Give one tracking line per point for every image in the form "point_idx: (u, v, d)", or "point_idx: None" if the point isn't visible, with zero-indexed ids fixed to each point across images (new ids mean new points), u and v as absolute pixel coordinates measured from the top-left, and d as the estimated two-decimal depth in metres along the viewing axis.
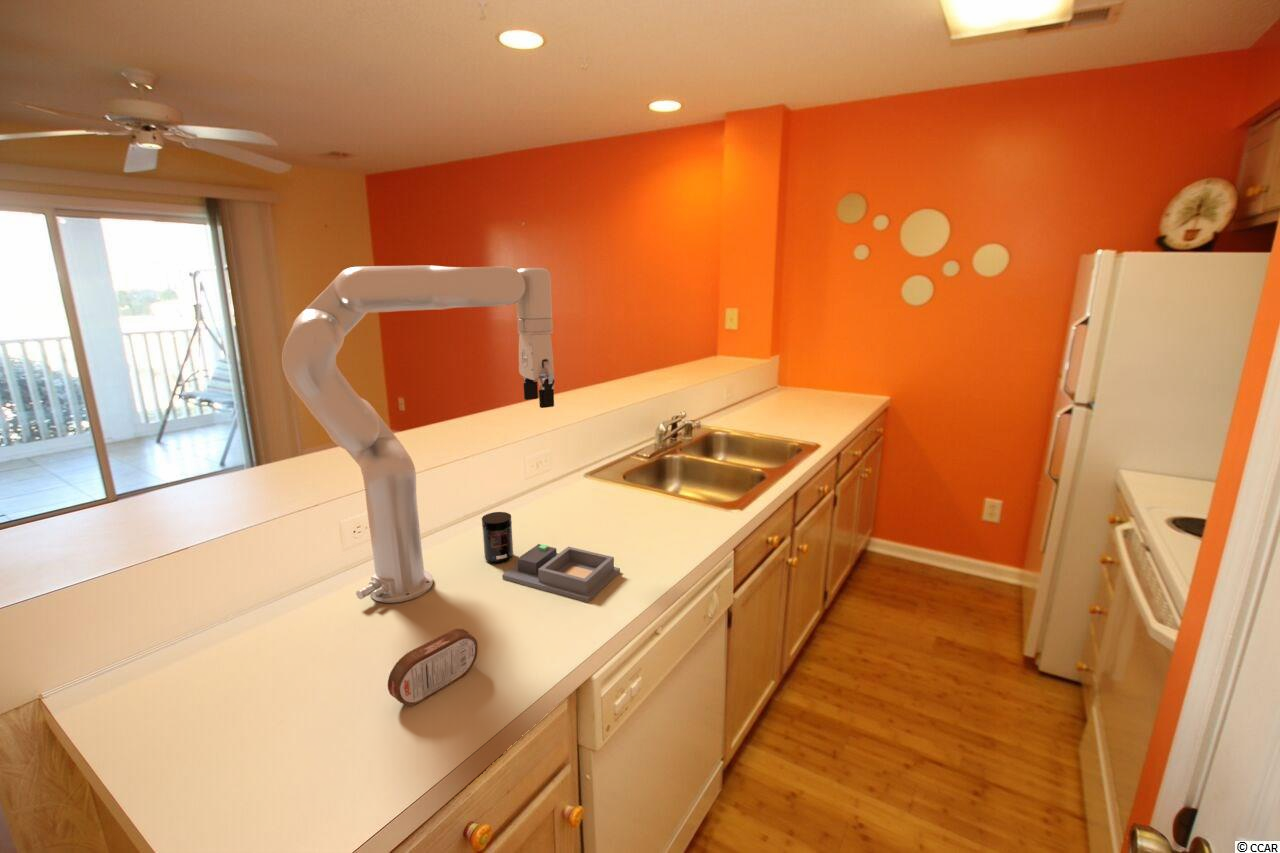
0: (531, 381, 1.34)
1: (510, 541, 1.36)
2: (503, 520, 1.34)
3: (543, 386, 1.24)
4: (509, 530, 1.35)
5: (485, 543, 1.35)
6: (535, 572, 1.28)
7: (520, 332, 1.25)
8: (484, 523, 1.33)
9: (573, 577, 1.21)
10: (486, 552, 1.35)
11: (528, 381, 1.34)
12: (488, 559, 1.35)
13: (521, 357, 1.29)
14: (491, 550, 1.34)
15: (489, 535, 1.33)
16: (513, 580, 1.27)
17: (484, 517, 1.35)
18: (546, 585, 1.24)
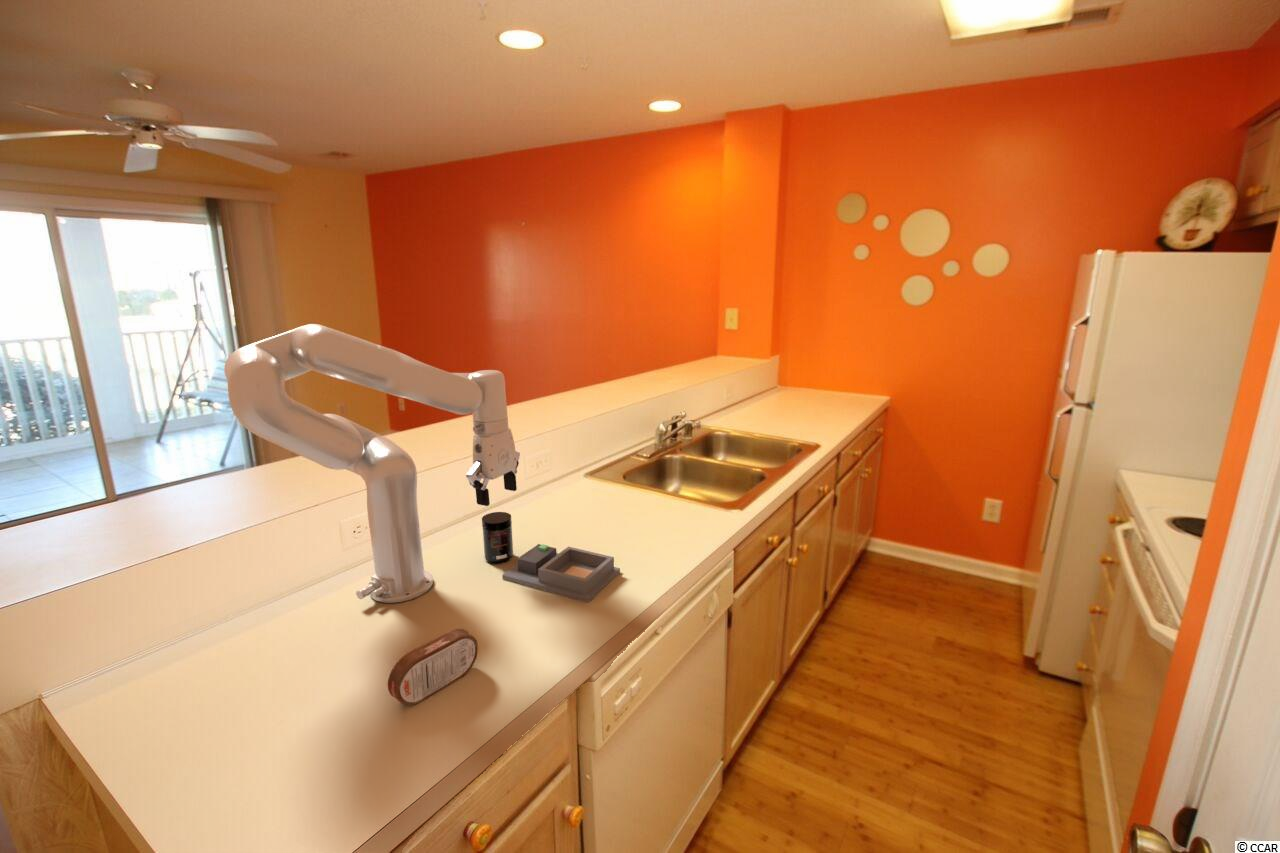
0: None
1: (510, 541, 1.36)
2: (503, 520, 1.34)
3: None
4: (509, 530, 1.35)
5: (485, 543, 1.35)
6: (535, 572, 1.28)
7: (506, 431, 1.29)
8: (484, 523, 1.33)
9: (573, 577, 1.21)
10: (486, 552, 1.35)
11: None
12: (488, 559, 1.35)
13: (497, 459, 1.29)
14: (491, 550, 1.34)
15: (489, 535, 1.33)
16: (513, 580, 1.27)
17: (484, 517, 1.35)
18: (546, 585, 1.24)
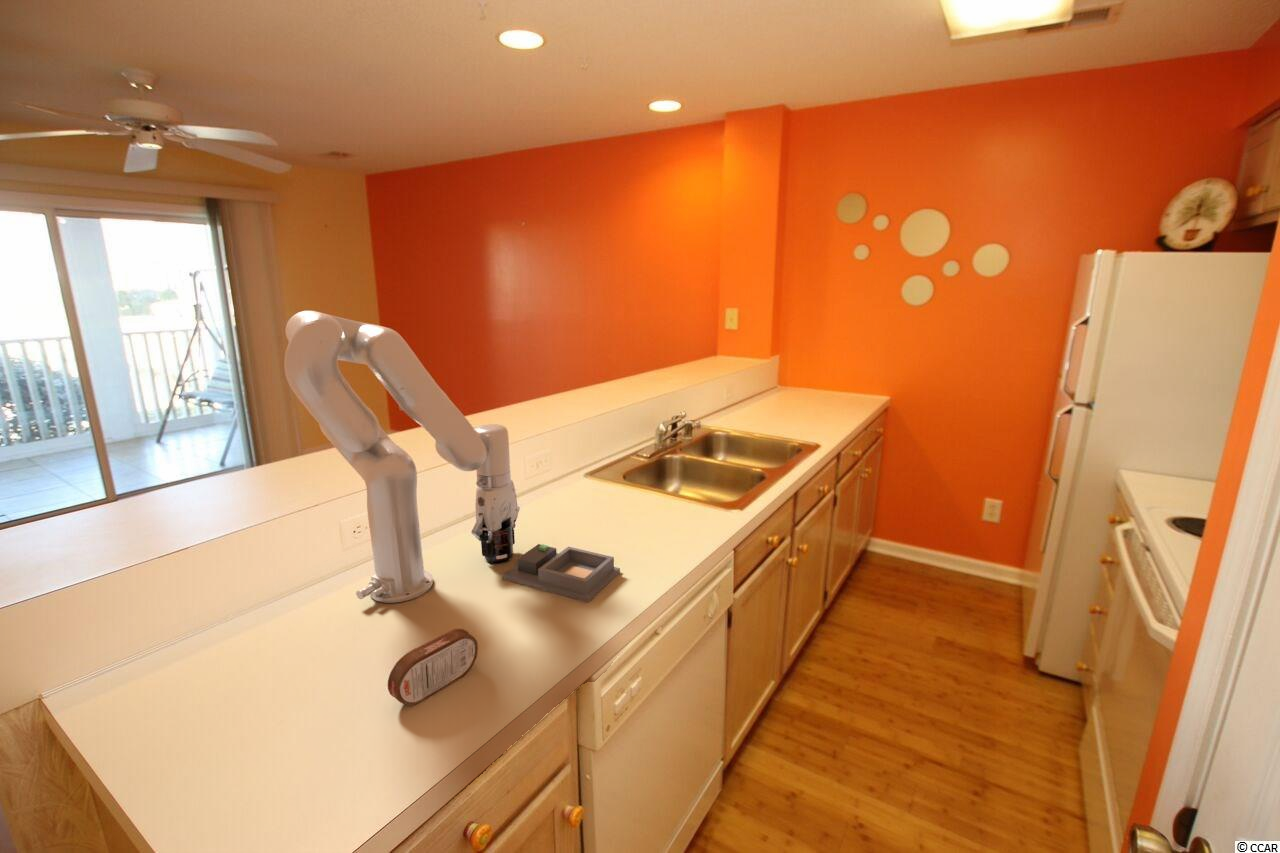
0: None
1: (510, 541, 1.36)
2: None
3: None
4: (509, 530, 1.35)
5: None
6: (535, 572, 1.28)
7: (508, 484, 1.32)
8: None
9: (573, 577, 1.21)
10: None
11: None
12: (488, 559, 1.35)
13: (499, 511, 1.32)
14: None
15: None
16: (513, 580, 1.27)
17: None
18: (546, 585, 1.24)
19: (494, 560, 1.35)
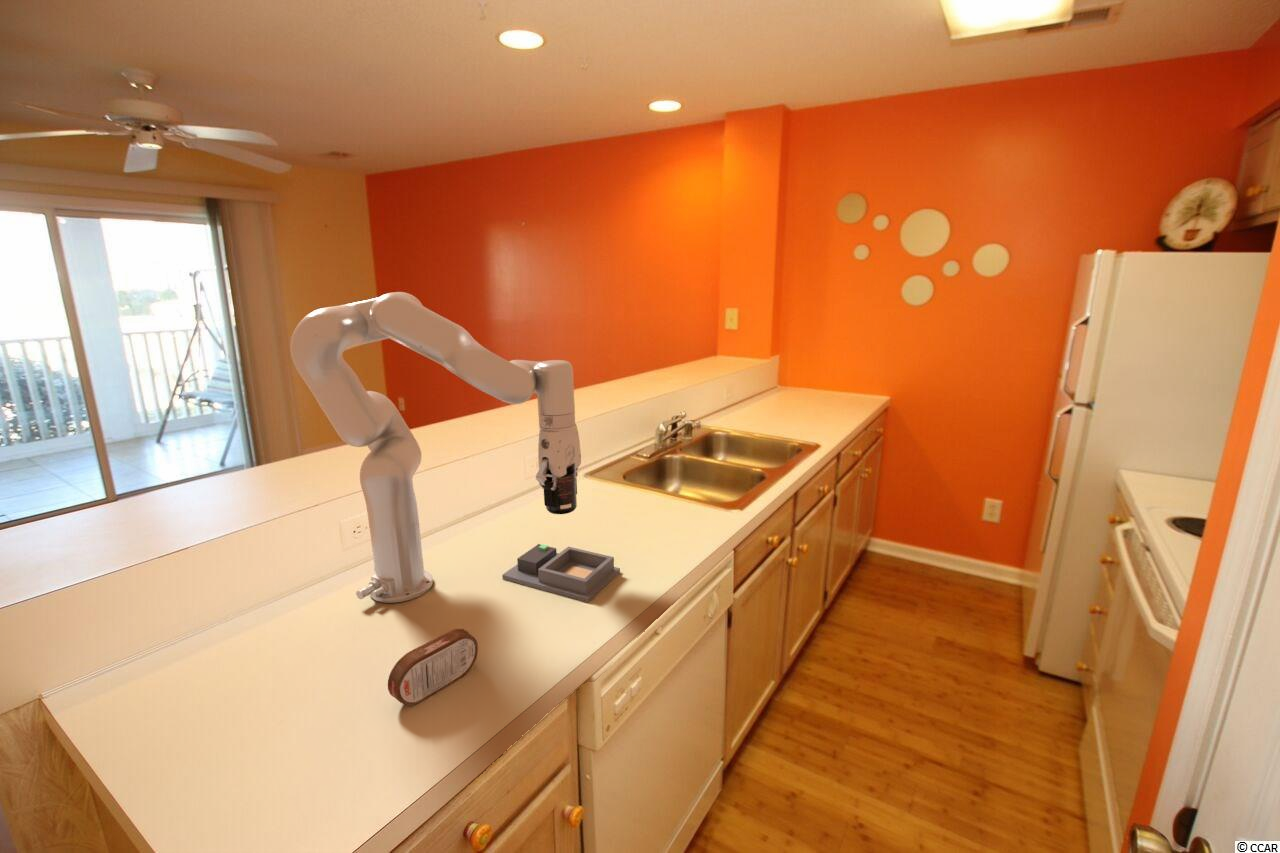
0: None
1: (574, 489, 1.24)
2: None
3: None
4: (573, 477, 1.23)
5: None
6: (535, 572, 1.28)
7: (574, 426, 1.20)
8: None
9: (573, 577, 1.21)
10: None
11: None
12: (551, 509, 1.23)
13: (564, 455, 1.20)
14: None
15: None
16: (513, 580, 1.27)
17: None
18: (546, 585, 1.24)
19: (558, 510, 1.23)
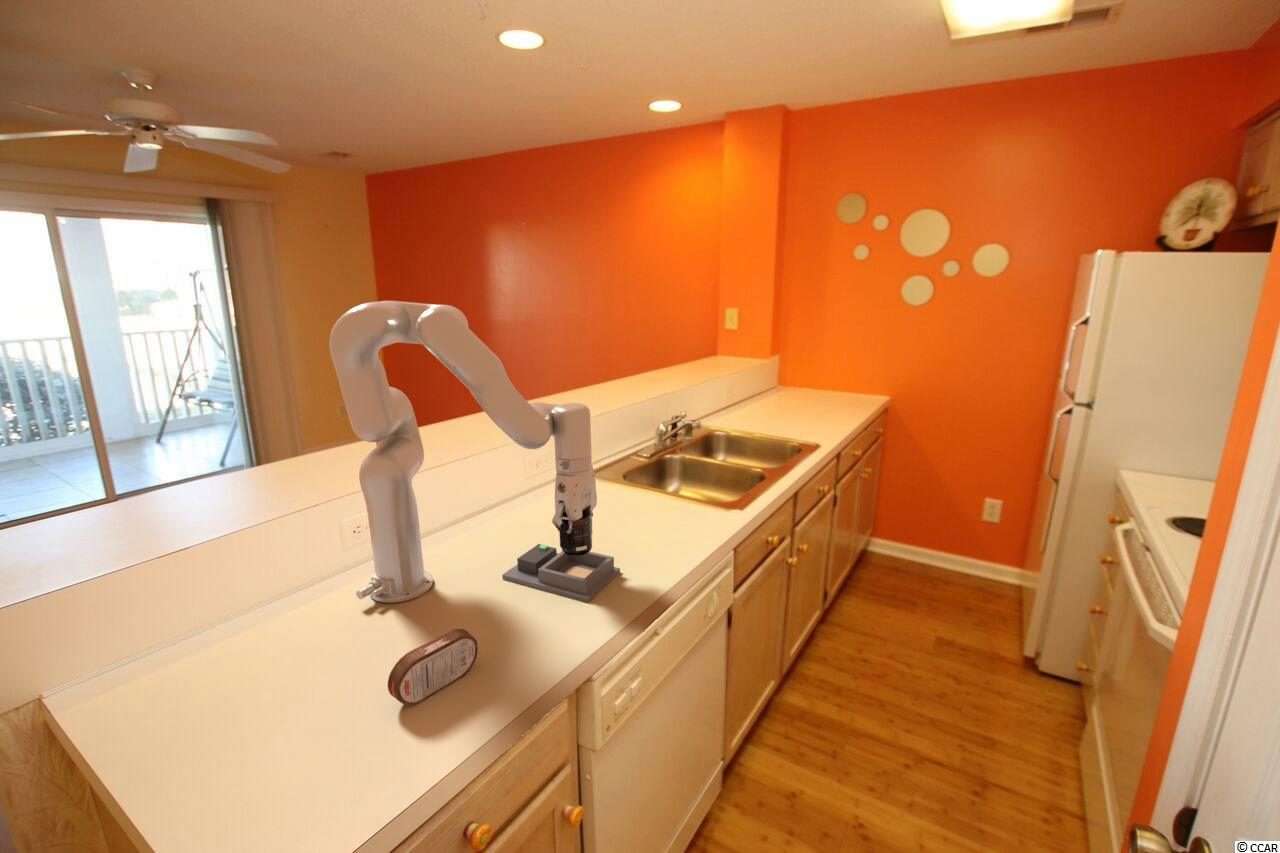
0: None
1: (590, 531, 1.24)
2: None
3: None
4: (589, 519, 1.24)
5: None
6: (535, 572, 1.28)
7: (590, 469, 1.21)
8: None
9: (573, 577, 1.21)
10: None
11: None
12: (567, 551, 1.24)
13: (580, 499, 1.20)
14: None
15: None
16: (513, 580, 1.27)
17: None
18: (546, 585, 1.24)
19: (573, 552, 1.23)
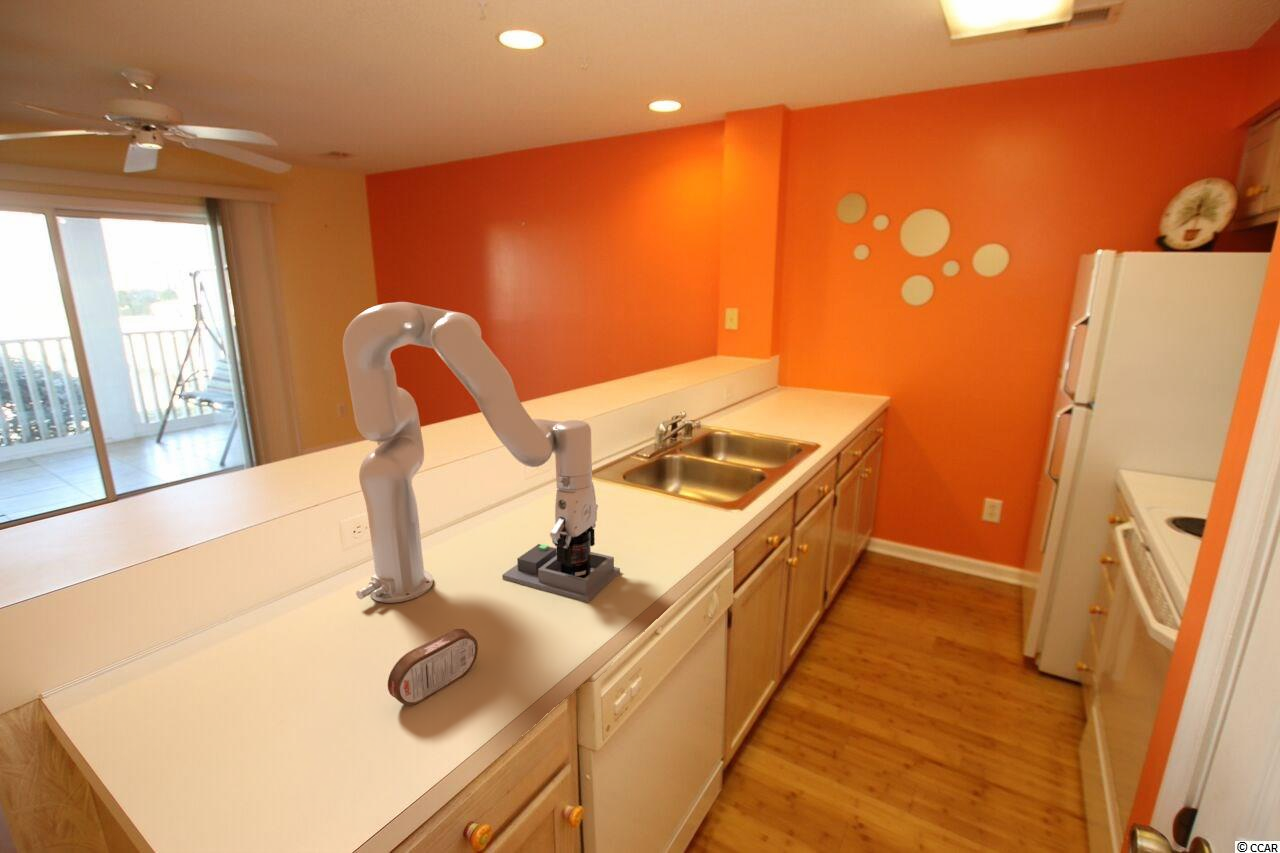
0: None
1: (589, 556, 1.26)
2: (583, 534, 1.24)
3: None
4: (588, 544, 1.25)
5: None
6: (535, 572, 1.28)
7: (590, 485, 1.22)
8: (563, 537, 1.23)
9: (573, 577, 1.21)
10: (563, 568, 1.25)
11: None
12: None
13: (581, 515, 1.21)
14: (569, 566, 1.24)
15: None
16: (513, 580, 1.27)
17: None
18: (546, 585, 1.24)
19: None
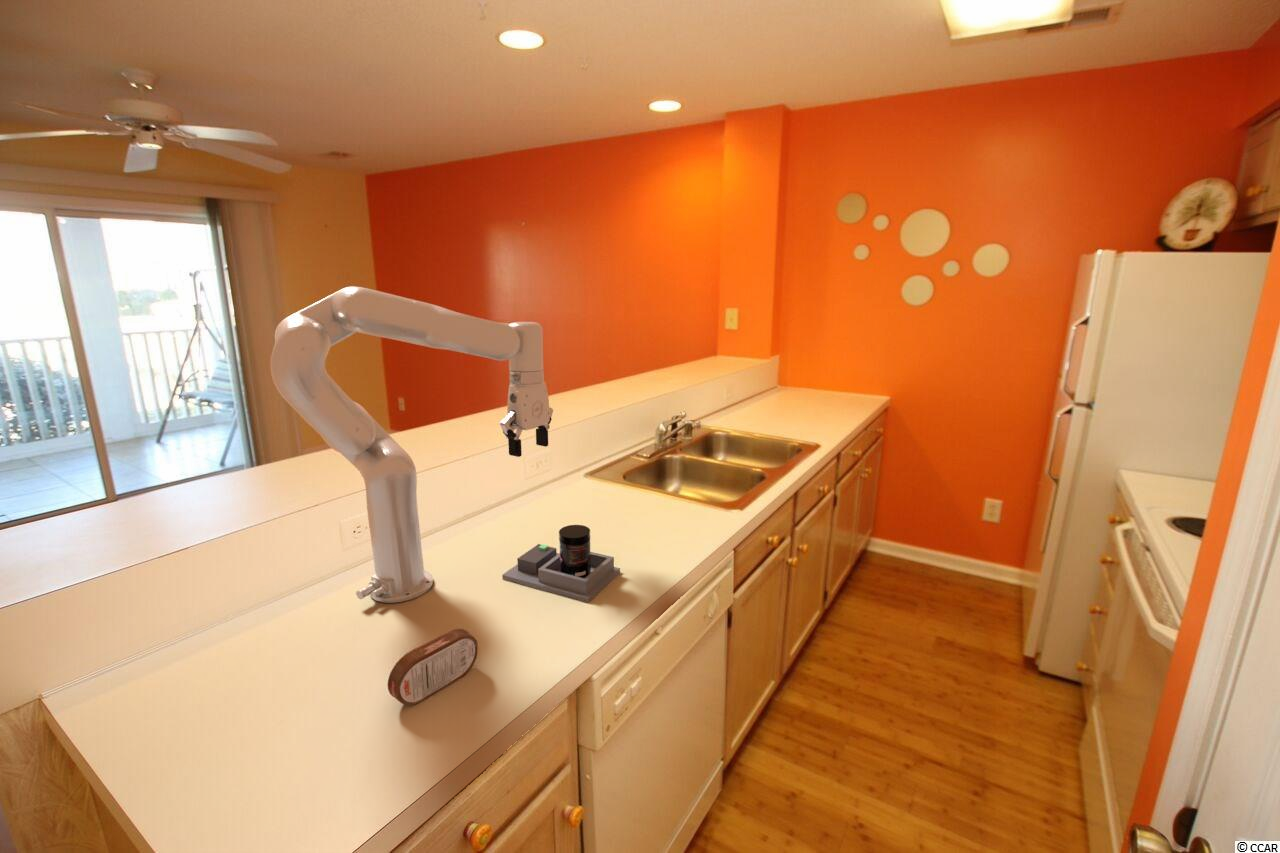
0: None
1: (589, 557, 1.26)
2: (583, 535, 1.24)
3: None
4: (588, 545, 1.25)
5: (562, 559, 1.25)
6: (535, 572, 1.28)
7: (541, 383, 1.30)
8: (563, 537, 1.23)
9: (573, 577, 1.21)
10: (563, 569, 1.25)
11: None
12: None
13: (531, 410, 1.29)
14: (569, 567, 1.24)
15: (568, 550, 1.23)
16: (513, 580, 1.27)
17: (561, 531, 1.25)
18: (546, 585, 1.24)
19: None
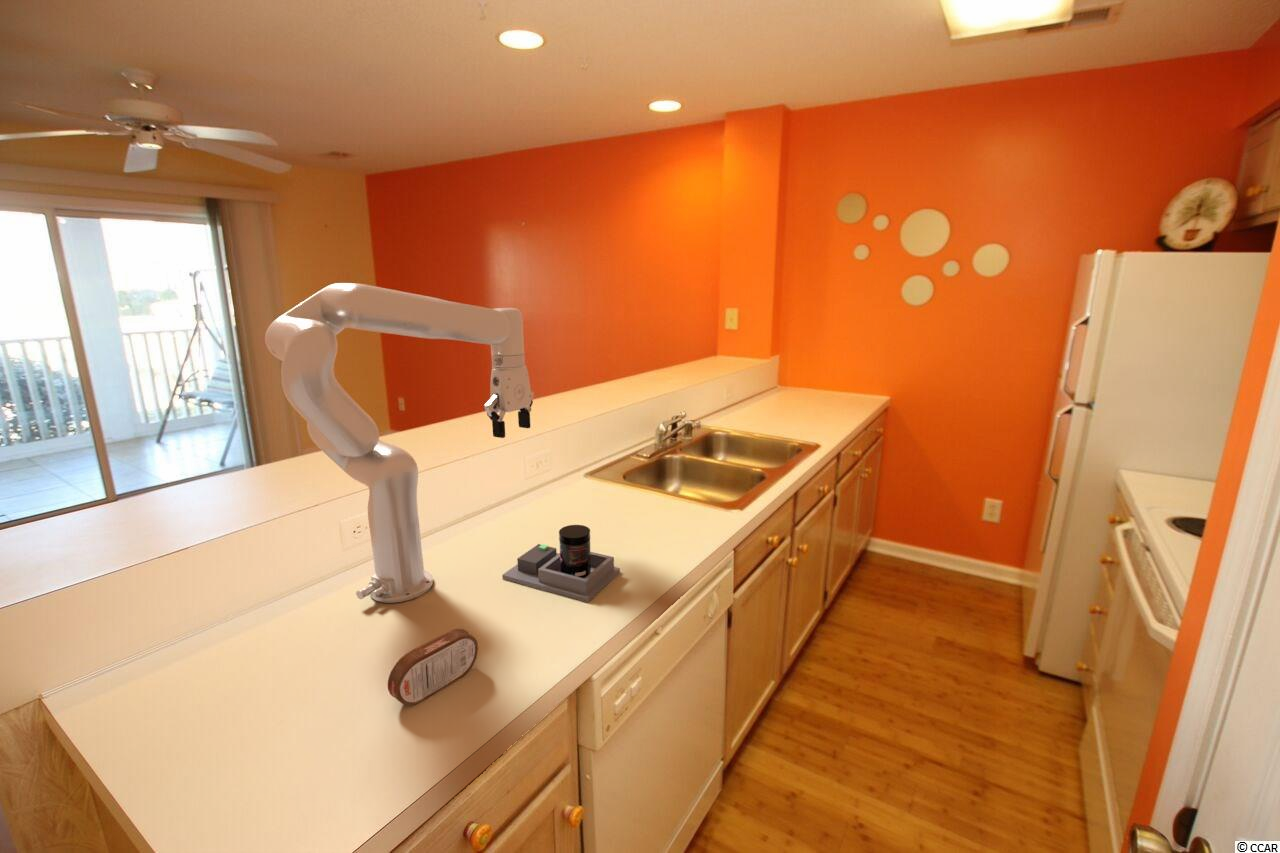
0: None
1: (589, 557, 1.26)
2: (583, 535, 1.24)
3: None
4: (588, 545, 1.25)
5: (562, 559, 1.25)
6: (535, 572, 1.28)
7: (522, 366, 1.35)
8: (563, 537, 1.23)
9: (573, 577, 1.21)
10: (563, 569, 1.25)
11: None
12: None
13: (513, 393, 1.35)
14: (569, 567, 1.24)
15: (568, 550, 1.23)
16: (513, 580, 1.27)
17: (561, 531, 1.25)
18: (546, 585, 1.24)
19: None
